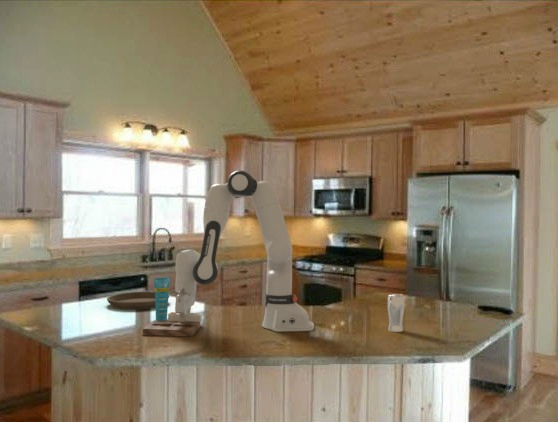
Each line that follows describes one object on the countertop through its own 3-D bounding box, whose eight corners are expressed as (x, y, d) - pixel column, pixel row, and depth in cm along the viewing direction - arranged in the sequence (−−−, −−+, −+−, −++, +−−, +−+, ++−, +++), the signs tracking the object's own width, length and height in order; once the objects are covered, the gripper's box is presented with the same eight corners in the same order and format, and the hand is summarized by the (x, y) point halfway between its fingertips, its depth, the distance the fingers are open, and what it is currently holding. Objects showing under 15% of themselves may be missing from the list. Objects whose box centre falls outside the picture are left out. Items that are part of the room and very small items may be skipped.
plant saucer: (97, 303, 247) (97, 295, 247) (151, 296, 268) (151, 288, 268) (123, 314, 225) (123, 304, 225) (180, 305, 246) (180, 297, 246)
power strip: (201, 325, 205) (202, 312, 205) (200, 327, 202) (200, 314, 202) (170, 324, 206) (170, 311, 206) (168, 326, 203) (168, 313, 203)
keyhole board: (200, 327, 201) (200, 321, 201) (192, 336, 188) (192, 330, 187) (153, 326, 203) (153, 320, 203) (142, 334, 189) (142, 328, 189)
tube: (155, 322, 210) (155, 278, 209) (151, 319, 214) (152, 277, 213) (171, 320, 214) (172, 277, 214) (167, 317, 218) (168, 276, 218)
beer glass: (394, 333, 197) (395, 297, 197) (383, 329, 203) (384, 294, 203) (407, 331, 200) (408, 296, 200) (396, 327, 207) (396, 293, 207)
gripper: (186, 291, 193) (186, 325, 193) (198, 283, 214) (197, 314, 214) (171, 291, 194) (171, 325, 194) (184, 283, 214) (183, 314, 214)
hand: (185, 319), depth 204 cm, fingers open, 6 cm apart
